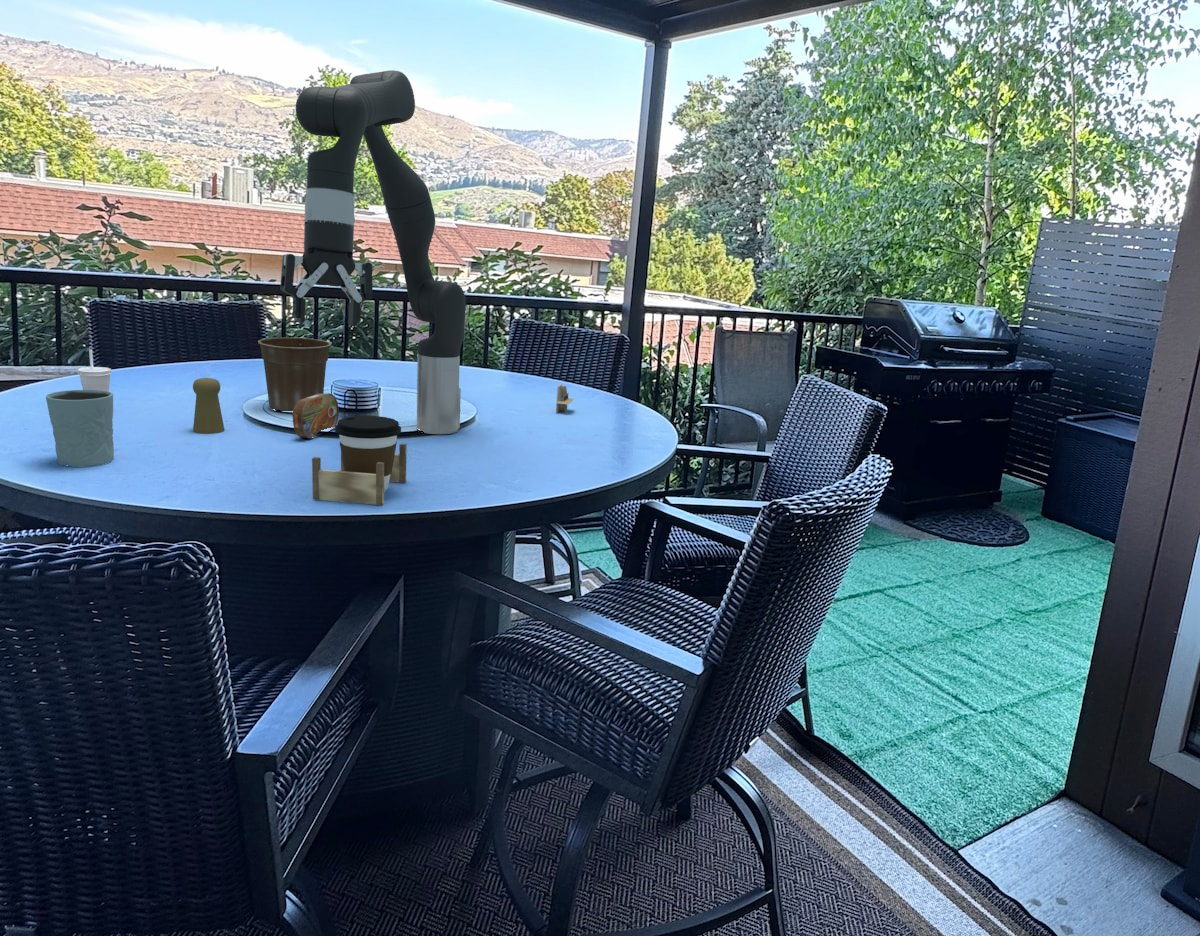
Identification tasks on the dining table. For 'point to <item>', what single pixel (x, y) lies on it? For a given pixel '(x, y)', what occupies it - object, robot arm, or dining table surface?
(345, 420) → the coffee cup
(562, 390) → the architectural model
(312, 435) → the tin
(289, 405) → the plant pot
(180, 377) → the dining table surface
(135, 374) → the dining table surface
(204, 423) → the cork
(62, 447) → the green embossed planter
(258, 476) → the dining table surface
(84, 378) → the smoothie
